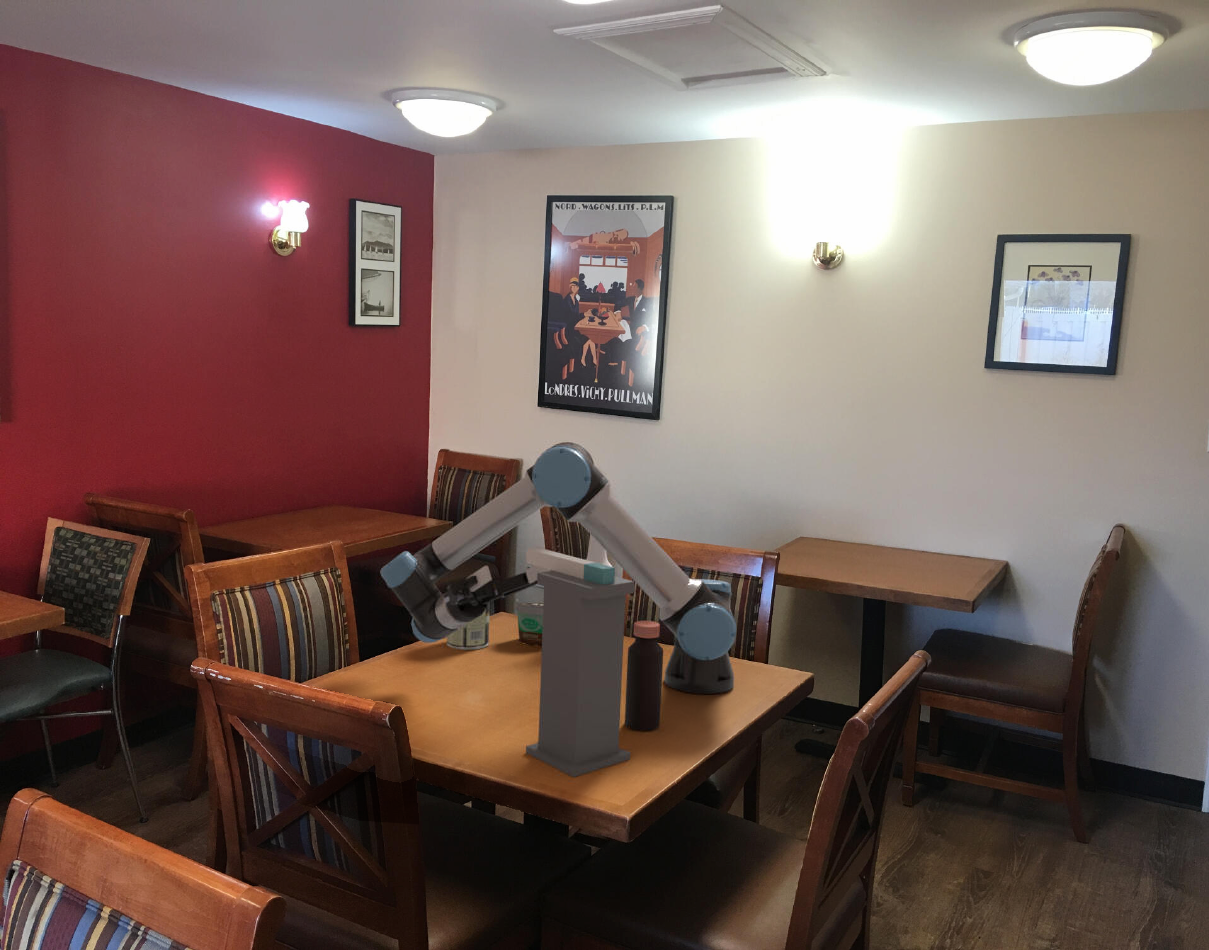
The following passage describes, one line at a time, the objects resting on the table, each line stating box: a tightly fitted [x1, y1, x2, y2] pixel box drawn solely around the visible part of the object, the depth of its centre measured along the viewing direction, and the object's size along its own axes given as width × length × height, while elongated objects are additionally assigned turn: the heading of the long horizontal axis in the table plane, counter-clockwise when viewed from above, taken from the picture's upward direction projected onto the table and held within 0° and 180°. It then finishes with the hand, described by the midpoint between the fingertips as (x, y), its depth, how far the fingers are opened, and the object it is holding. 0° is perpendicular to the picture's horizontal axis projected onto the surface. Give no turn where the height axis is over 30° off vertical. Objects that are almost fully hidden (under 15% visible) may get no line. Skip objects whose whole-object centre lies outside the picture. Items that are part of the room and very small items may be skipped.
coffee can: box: [446, 585, 491, 651], centre depth 242 cm, size 10×10×14 cm
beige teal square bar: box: [525, 547, 616, 585], centre depth 176 cm, size 21×3×3 cm, turn 42°
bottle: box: [624, 620, 664, 732], centre depth 192 cm, size 7×7×20 cm
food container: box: [514, 598, 544, 646], centre depth 245 cm, size 12×6×10 cm, turn 81°
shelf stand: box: [525, 570, 635, 778], centre depth 175 cm, size 14×13×32 cm
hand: (518, 568), depth 186 cm, fingers open, 13 cm apart
